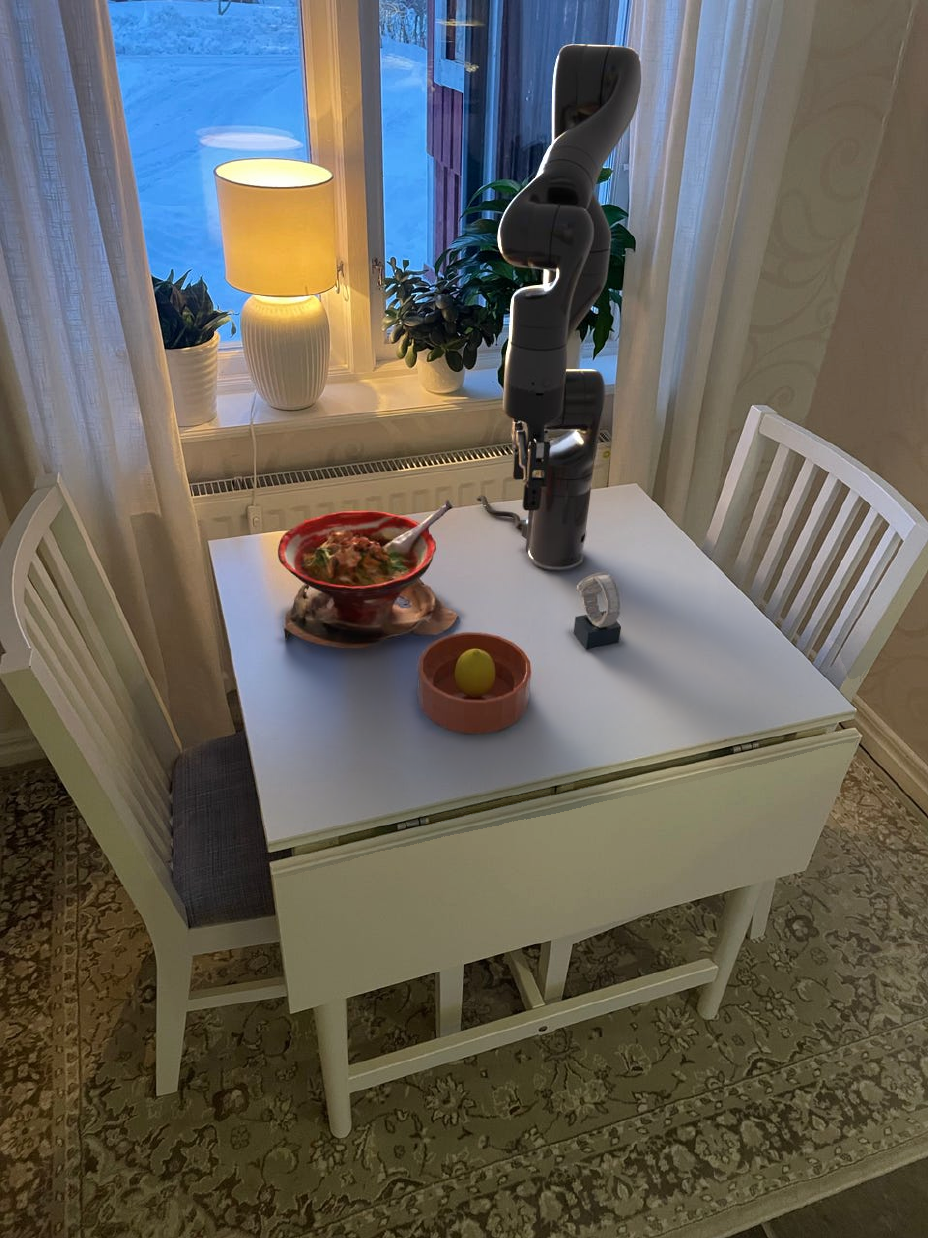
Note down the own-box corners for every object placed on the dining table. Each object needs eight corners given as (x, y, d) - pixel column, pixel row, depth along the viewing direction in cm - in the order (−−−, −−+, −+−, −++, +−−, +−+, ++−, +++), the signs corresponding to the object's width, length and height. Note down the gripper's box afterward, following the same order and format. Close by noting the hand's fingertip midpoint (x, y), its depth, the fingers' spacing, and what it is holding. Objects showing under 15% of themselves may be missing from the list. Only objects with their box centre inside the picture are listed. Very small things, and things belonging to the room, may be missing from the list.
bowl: (397, 689, 131) (397, 656, 128) (483, 652, 138) (485, 620, 135) (461, 752, 121) (462, 718, 118) (550, 709, 129) (553, 675, 125)
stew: (433, 559, 159) (434, 474, 150) (478, 641, 141) (482, 550, 131) (268, 583, 152) (258, 495, 142) (292, 673, 133) (283, 579, 124)
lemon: (490, 711, 127) (492, 666, 122) (450, 705, 128) (451, 659, 123) (496, 686, 131) (500, 641, 127) (458, 680, 132) (460, 635, 127)
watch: (599, 619, 146) (608, 560, 140) (624, 649, 140) (634, 589, 134) (567, 626, 145) (574, 566, 138) (590, 656, 138) (599, 595, 132)
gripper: (497, 355, 120) (490, 469, 130) (513, 399, 109) (505, 521, 118) (554, 355, 121) (544, 468, 130) (576, 399, 109) (563, 519, 119)
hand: (525, 493), depth 124 cm, fingers open, 8 cm apart
